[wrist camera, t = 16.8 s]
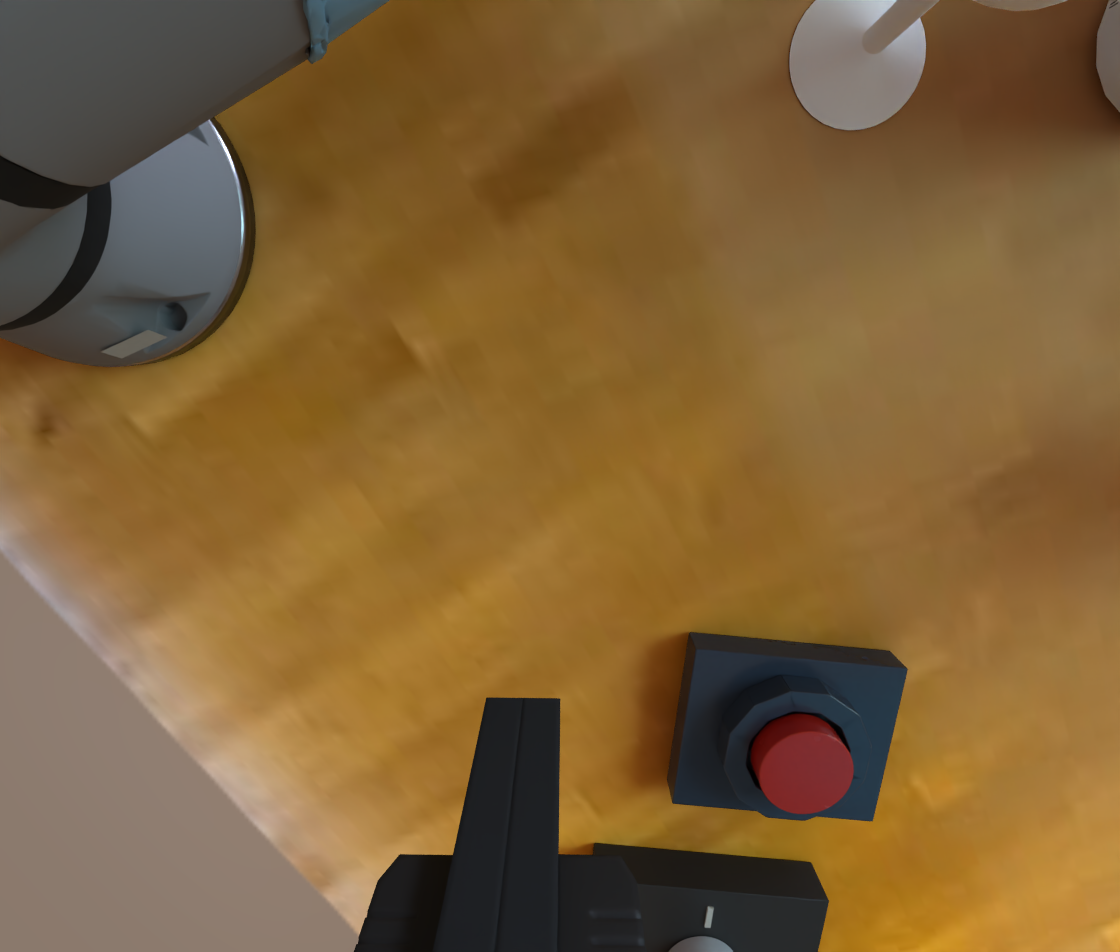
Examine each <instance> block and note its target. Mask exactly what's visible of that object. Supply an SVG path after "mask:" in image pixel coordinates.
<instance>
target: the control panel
mask: <svg viewBox="0 0 1120 952" xmlns="http://www.w3.org/2000/svg"><path fill="white" fill-rule="evenodd" d="M593 855H621V857H622V858H623V860H624V862H625V863H626V865H627V866H628V868H629V870H630V871H631V873H632V874H633V876H634V878H635V879H636V881H637V885H638V893H639V900H640V908H641V919H642V923H643V931H644V939H645V946H646V952H669V950H670V949H671V948H672V947H673V946H674V945H676V944H677V943H679V942H680V941H682V940H685V939H687V938H691V937H697V936H706V937H712V938H715V939H718V940H720V941H722V942H724V943H725V944H727V945H728V946H729V947H730V948H731V949H732V950H733V952H818V948H819V944H820V939H821V935H822V930H823V926H824V921H825V917H826V912H827V907H828V903H829V900H828V898H827V896H826V894H825V892H824V889H823V887H822V885H821V883H820V881H819V879H818V876H817V874H816V872H815V870H814V868H813V866H812V863H811V862H801V861H790V860H778V859H767V858H756V857H745V856H733V855H722V854H711V853H700V852H689V851H677V850H666V849H655V848H644V847H633V846H621V845H610V844H599V843H594V847H593Z"/></svg>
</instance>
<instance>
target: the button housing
mask: <svg viewBox="0 0 1120 952" xmlns="http://www.w3.org/2000/svg"><path fill="white" fill-rule="evenodd" d="M906 674H907V668H906V667H905V666H904V665H903V664H902V663H901V662H900V661H899V660H898V659H897V658H896V657H895V656H894V655H893V654H892V653H891V652H890V651H886V650H875V649H865V648H854V647H843V646H833V645H822V644H811V643H801V642H790V641H779V640H769V639H758V638H747V637H737V636H726V635H715V634H705V633H694V632H689V636H688V643H687V649H686V656H685V663H684V669H683V676H682V683H681V689H680V696H679V703H678V709H677V716H676V722H675V729H674V736H673V742H672V749H671V756H670V762H669V769H668V776H667V782H668V786H669V791H670V795H671V799H672V803H673V804H684V805H695V806H706V807H717V808H728V809H739V810H750V811H758V812H759V813H761V814H762V815H764V816H765V817H768V818H778V819H790V820H801V821H803V820H804V821H805V820H808V819H811V818H814V817H816V816H817V817H828V818H839V819H850V820H861V821H873V818H874V814H875V809H876V805H877V800H878V796H879V792H880V787H881V783H882V779H883V774H884V770H885V766H886V761H887V757H888V753H889V748H890V744H891V740H892V735H893V731H894V727H895V722H896V718H897V714H898V709H899V705H900V701H901V696H902V692H903V687H904V683H905V679H906ZM789 714H809V715H812V716H816V717H818V718H820V719H822V720H824V721H826V722H827V723H828V724H829V725H830V726H831V727H832V728H833V729H834V730H835V732H836V733H837V734H838V736H839V737H840V739H841V740H842V742H843V743H844V745H845V746H846V748H847V749H848V751H849V753H850V755H851V757H852V760H853V770H854V773H853V779H852V782H851V785H850V787H849V789H848V790H847V792H846V793H845V795H844V796H843V797H842V798H841V799H840V800H839V801H838V802H837V803H835V804H834V805H833V806H831V807H829V808H827V809H825V810H823V811H820V812H816V813H811V814H795V813H790V812H787V811H784V810H782V809H780V808H778V807H777V806H775V805H774V804H773V803H771V802H770V801H769V800H768V799H767V797H766V796H765V795H764V793H763V791H762V789H761V787H760V784H759V782H758V780H757V777H756V775H755V773H754V770H753V767H752V764H751V749H752V746H753V743H754V740H755V738H756V737H757V735H758V734H759V732H760V731H761V730H762V729H763V728H764V727H765V726H766V725H767V724H769V723H770V722H772V721H773V720H775V719H777V718H779V717H782V716H785V715H789Z"/></svg>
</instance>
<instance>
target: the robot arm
mask: <svg viewBox="0 0 1120 952" xmlns="http://www.w3.org/2000/svg"><path fill="white" fill-rule="evenodd" d="M388 1H389V0H0V338H2V339H5V340H8V341H10V342H13V343H16V344H18V345H21V346H24V347H26V348H29V349H31V350H34V351H37V352H39V353H42V354H45V355H48V356H50V357H53V358H57V359H60V360H64V361H69V362H73V363H80V364H85V365H92V366H102V367H120V366H134V365H144V364H150V363H156V362H160V361H164V360H167V359H170V358H173V357H175V356H178V355H181V354H183V353H185V352H186V351H188V350H190V349H192V348H194V347H195V346H197V345H198V344H200V343H201V342H203V341H204V340H205V339H207V338H208V337H209V336H210V335H211V334H213V333H214V332H215V331H216V330H217V329H218V328H219V327H220V326H221V325H222V323H223V322H224V321H225V320H226V318H227V317H228V316H229V315H230V313H231V312H232V310H233V309H234V307H235V305H236V304H237V302H238V300H239V298H240V296H241V294H242V292H243V290H244V288H245V285H246V282H247V279H248V277H249V274H250V269H251V265H252V261H253V255H254V248H255V213H254V206H253V199H252V195H251V191H250V187H249V183H248V180H247V177H246V174H245V171H244V168H243V166H242V163H241V161H240V159H239V156H238V154H237V152H236V150H235V148H234V146H233V145H232V143H231V141H230V139H229V138H228V136H227V134H226V133H225V131H224V130H223V128H222V127H221V125H220V124H219V123H218V121H217V120H216V119H215V118H214V116H216V115H218V114H219V113H221V112H223V111H224V110H226V109H227V108H229V107H231V106H232V105H234V104H235V103H237V102H239V101H240V100H242V99H244V98H245V97H247V96H248V95H250V94H252V93H253V92H255V91H257V90H258V89H260V88H261V87H263V86H265V85H266V84H268V83H270V82H271V81H273V80H274V79H276V78H278V77H279V76H281V75H283V74H284V73H286V72H287V71H289V70H291V69H292V68H294V67H296V66H297V65H299V64H300V63H302V62H304V61H305V60H307V59H308V60H309V62H310V63H311V64H313V63H314V62H316V61H318V60H320V59H322V57H323V56H324V55H325V53H326V51H327V45H328V44H329V43H330V42H331V41H333V40H334V39H336V38H337V37H338V36H340V35H341V34H343V33H344V32H345V31H347V30H348V29H350V28H351V27H353V26H354V25H355V24H357V23H358V22H360V21H361V20H362V19H364V18H365V17H367V16H368V15H369V14H371V13H372V12H374V11H375V10H376V9H378V8H379V7H381V6H382V5H383V4H385V3H386V2H388ZM559 762H560V699H557V698H486V702H485V707H484V712H483V716H482V721H481V726H480V731H479V735H478V740H477V745H476V749H475V754H474V759H473V764H472V768H471V773H470V778H469V782H468V787H467V792H466V796H465V801H464V806H463V811H462V815H461V820H460V825H459V829H458V834H457V839H456V844H455V848H454V853H453V855H405V854H400V855H399V856H398V857H397V858H396V860H395V861H394V862H393V863H392V864H391V866H390V867H389V868H388V869H387V870H386V872H385V873H384V874H383V875H382V876H381V877H380V879H379V880H378V882H377V885H376V888H375V891H374V894H373V897H372V900H371V903H370V906H369V909H368V913H367V918H365V920H364V923H363V926H362V929H361V932H360V935H359V941H358V944H357V945H356V947H355V950H354V952H646V946H645V939H644V931H643V923H642V919H641V908H640V900H639V893H638V885H637V881H636V879H635V878H634V876H633V874H632V873H631V871H630V870H629V868H628V866H627V865H626V863H625V862H624V860H623V858H622V857H621V855H563V854H558V848H559Z"/></svg>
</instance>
